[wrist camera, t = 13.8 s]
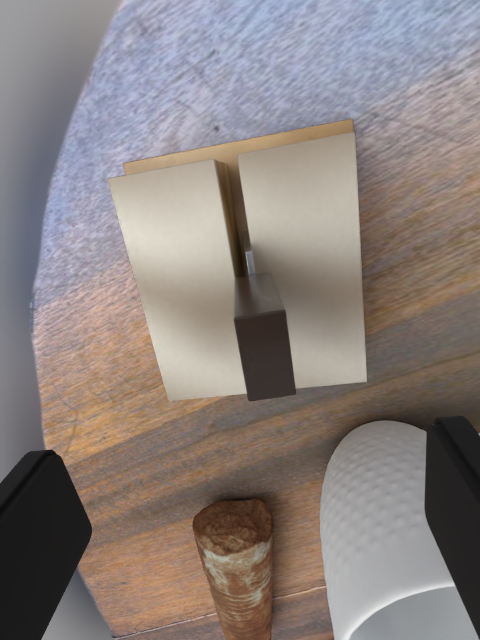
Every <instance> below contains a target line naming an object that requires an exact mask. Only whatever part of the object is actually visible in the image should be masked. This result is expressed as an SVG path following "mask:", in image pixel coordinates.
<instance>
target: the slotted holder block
mask: <svg viewBox="0 0 480 640" xmlns="http://www.w3.org/2000/svg"><path fill="white" fill-rule="evenodd" d="M123 167H124V171H125V175H123V176H118V177H113V178H108V179H107V180H108V183H109V187H110V191H111V194H112V198H113V201H114V205H115V209H116V212H117V216H118V220H119V223H120V227H121V230H122V234H123V238H124V241H125V245H126V249H127V252H128V256H129V259H130V263H131V267H132V270H133V274H134V278H135V281H136V285H137V288H138V292H139V296H140V299H141V303H142V307H143V310H144V314H145V317H146V321H147V325H148V328H149V332H150V336H151V339H152V343H153V346H154V350H155V354H156V357H157V361H158V365H159V368H160V372H161V375H162V379H163V383H164V386H165V390H166V394H167V397H168V401H177V400H187V399H197V398H207V397H217V396H227V395H237V394H247V391H246V386H245V381H244V375H243V370H242V364H241V359H240V353H239V348H238V342H237V337H236V331H235V326H234V321H233V312H234V279H235V278H238V277H244V276H249V273H248V267H247V261H246V254H245V247H244V240H243V231H247V232H248V236H249V240H250V244H251V248H252V253H253V259H254V266H255V272H256V274H262V273H268V272H270V273H271V275H272V277H273V280H274V282H275V285H276V287H277V290H278V292H279V295H280V298H281V300H282V303H283V305H284V308H285V310H286V316H287V324H288V332H289V339H290V347H291V355H292V363H293V371H294V379H295V387H296V389H298V388H308V387H318V386H328V385H338V384H348V383H358V382H367V371H366V350H365V329H364V308H363V287H362V266H361V245H360V224H359V203H358V181H357V160H356V139H355V132H353V119H348V120H343V121H338V122H333V123H328V124H322V125H317V126H312V127H307V128H302V129H297V130H291V131H286V132H281V133H276V134H271V135H266V136H260V137H255V138H250V139H245V140H240V141H235V142H229V143H224V144H219V145H214V146H209V147H204V148H198V149H193V150H188V151H183V152H178V153H173V154H167V155H162V156H157V157H152V158H147V159H142V160H136V161H131V162H126V163H123Z"/></svg>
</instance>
